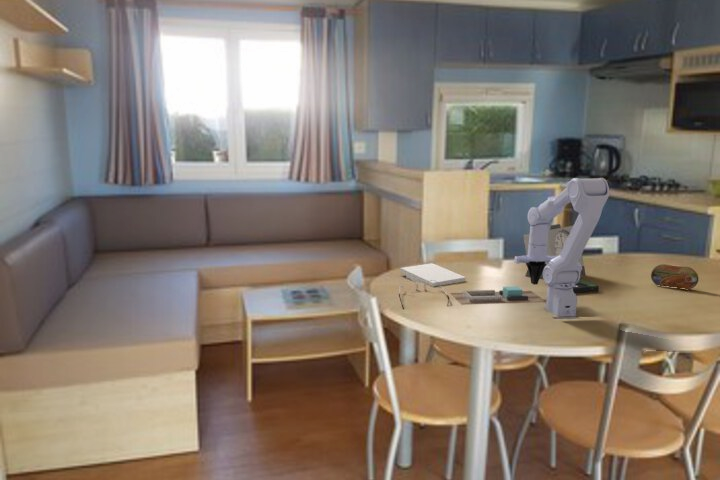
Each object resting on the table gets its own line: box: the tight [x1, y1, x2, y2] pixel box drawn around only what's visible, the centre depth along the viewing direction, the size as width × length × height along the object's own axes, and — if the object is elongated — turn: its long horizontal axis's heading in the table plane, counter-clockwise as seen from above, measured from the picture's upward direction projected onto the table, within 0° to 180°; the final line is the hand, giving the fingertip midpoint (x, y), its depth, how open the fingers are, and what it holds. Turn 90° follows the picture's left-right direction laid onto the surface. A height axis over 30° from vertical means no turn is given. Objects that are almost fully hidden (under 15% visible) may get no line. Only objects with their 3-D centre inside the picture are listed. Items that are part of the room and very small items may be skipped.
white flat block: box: [399, 263, 467, 287], centre depth 210 cm, size 15×3×20 cm
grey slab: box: [461, 289, 502, 302], centre depth 186 cm, size 7×11×2 cm, turn 99°
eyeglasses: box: [398, 278, 450, 310], centre depth 185 cm, size 16×19×5 cm
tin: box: [650, 263, 699, 290], centre depth 206 cm, size 15×3×8 cm, turn 62°
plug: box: [502, 285, 523, 298], centre depth 188 cm, size 4×5×3 cm
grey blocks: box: [498, 289, 528, 301], centre depth 188 cm, size 7×7×1 cm
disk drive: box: [573, 278, 600, 295], centre depth 202 cm, size 10×3×15 cm
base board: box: [450, 290, 547, 306], centre depth 187 cm, size 12×29×1 cm, turn 99°
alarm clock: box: [523, 223, 587, 281], centre depth 218 cm, size 20×16×20 cm
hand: (534, 283), depth 188 cm, fingers closed
